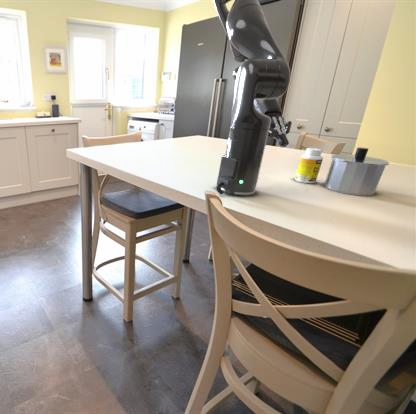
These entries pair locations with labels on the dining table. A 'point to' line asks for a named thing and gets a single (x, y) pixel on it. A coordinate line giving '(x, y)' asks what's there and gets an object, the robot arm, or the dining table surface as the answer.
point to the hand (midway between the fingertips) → (284, 145)
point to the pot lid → (360, 158)
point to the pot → (353, 178)
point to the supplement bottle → (309, 166)
